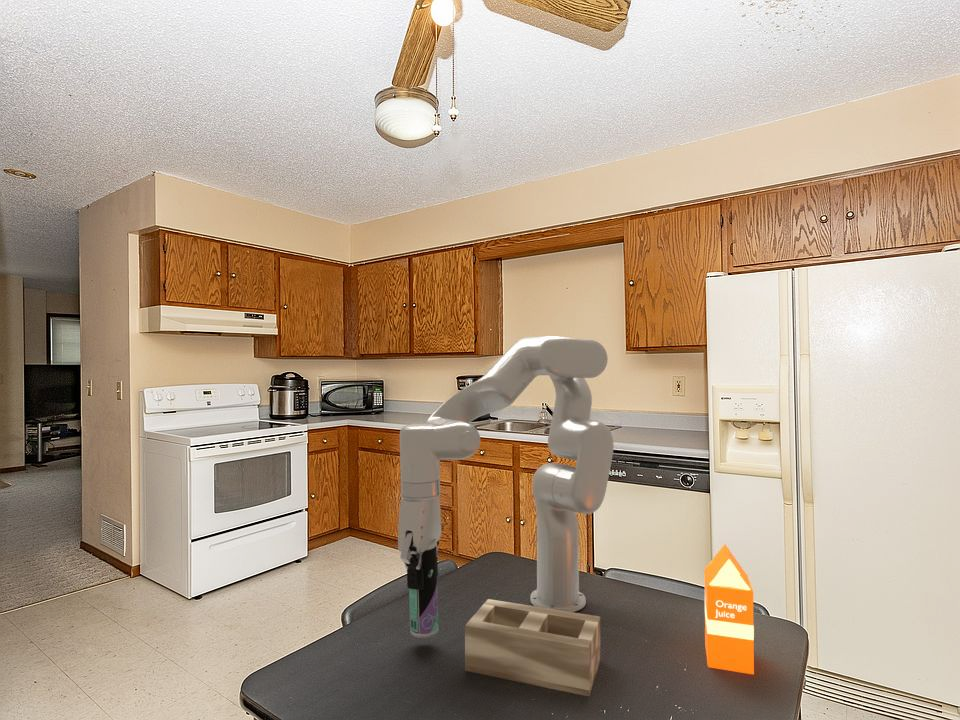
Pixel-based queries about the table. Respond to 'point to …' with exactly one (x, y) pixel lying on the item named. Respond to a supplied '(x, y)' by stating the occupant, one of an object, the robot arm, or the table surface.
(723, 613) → the orange juice
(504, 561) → the table surface
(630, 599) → the table surface
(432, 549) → the spray can
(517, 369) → the robot arm
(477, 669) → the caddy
